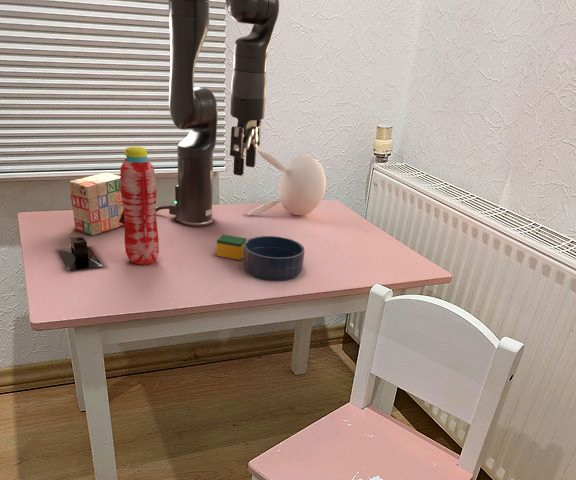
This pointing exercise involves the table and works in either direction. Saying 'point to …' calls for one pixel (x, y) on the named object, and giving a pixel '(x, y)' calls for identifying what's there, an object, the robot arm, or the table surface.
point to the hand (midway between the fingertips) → (244, 170)
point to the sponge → (230, 246)
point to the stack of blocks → (97, 203)
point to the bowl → (273, 258)
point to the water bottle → (139, 207)
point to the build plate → (80, 255)
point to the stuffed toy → (297, 185)
